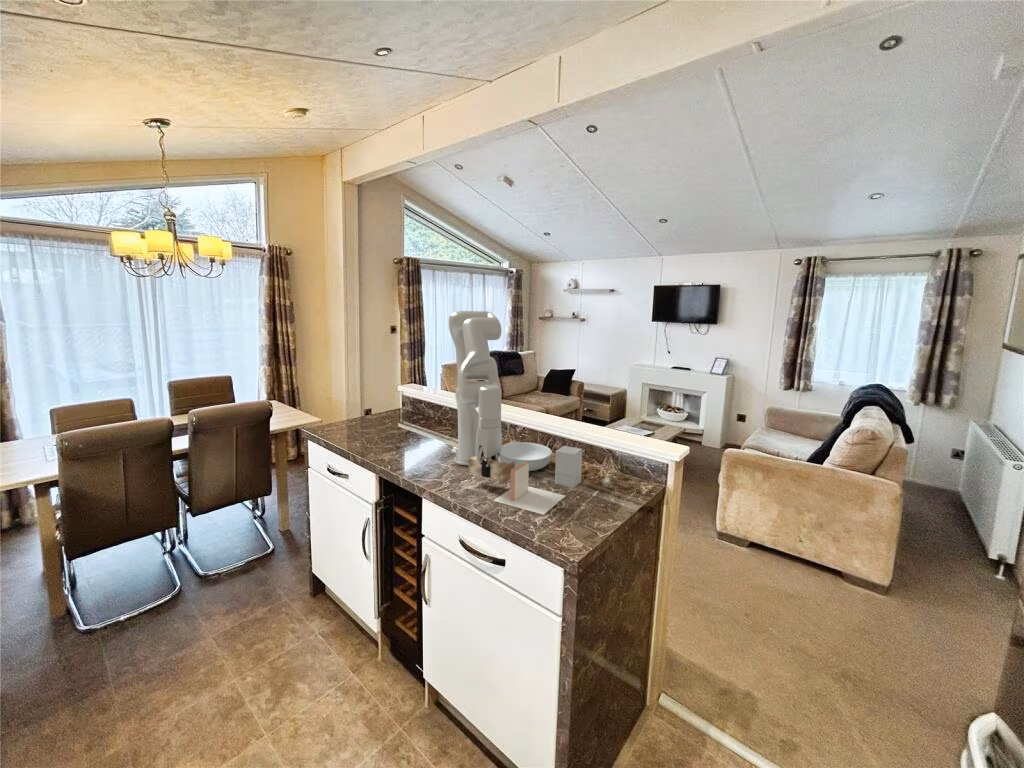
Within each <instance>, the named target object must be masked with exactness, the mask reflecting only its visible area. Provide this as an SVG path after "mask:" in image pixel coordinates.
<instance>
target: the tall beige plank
mask: <svg viewBox="0 0 1024 768" xmlns="http://www.w3.org/2000/svg"><path fill="white" fill-rule="evenodd" d="M476 460H477V456H476V455H475V456H472V457H470V458H469V466H468V473H472V474H474V475H479V476H482V466H481V465H480V463H479V462H478V461H476ZM484 460H485V461H486V459H484ZM489 466H490V479H492V480H493V479H494V480H496V481H497V480H498V481H499V484H501V485H502V484H504V483H506V482H508V481H509V480H511V470H512V469H513V468H515V462H511V463H505V462H501V460H498V461H497V460H493V459H490V461H489Z"/></svg>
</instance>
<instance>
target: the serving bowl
mask: <svg viewBox="0 0 1024 768" xmlns="http://www.w3.org/2000/svg"><path fill="white" fill-rule="evenodd" d="M552 456H553V451H552V449H551V448H549V447H548V446H546V445H542V444H540V443H534V442H523V441H522V442H511V443H506V444H502V451H501V453H500V455H499V457H498V459H499V461H501V462H505V463H511V462H515V467H517V466H518V465H520V464H522V463H524V462H528V463H529V472H533V471H538V470H541V469H543V468H545V467H546V466H547V465H548V464H549V463H550V461H551V459H552Z"/></svg>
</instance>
